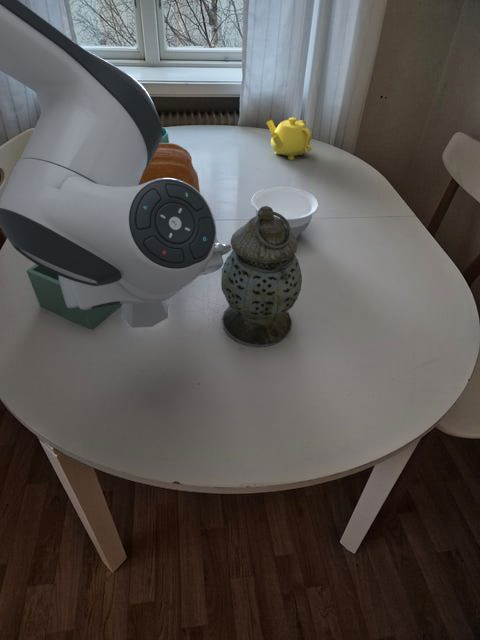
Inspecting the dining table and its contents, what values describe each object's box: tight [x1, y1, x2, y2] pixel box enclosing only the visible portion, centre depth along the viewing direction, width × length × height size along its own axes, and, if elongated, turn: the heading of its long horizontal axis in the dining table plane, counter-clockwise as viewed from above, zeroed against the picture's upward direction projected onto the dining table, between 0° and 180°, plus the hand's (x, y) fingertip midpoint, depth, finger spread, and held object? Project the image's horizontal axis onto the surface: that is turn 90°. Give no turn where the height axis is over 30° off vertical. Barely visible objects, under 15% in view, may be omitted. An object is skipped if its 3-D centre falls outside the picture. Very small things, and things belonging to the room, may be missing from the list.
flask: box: [120, 300, 169, 329], centre depth 61 cm, size 7×7×10 cm
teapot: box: [266, 117, 313, 160], centre depth 140 cm, size 14×14×11 cm
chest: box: [25, 264, 123, 331], centre depth 85 cm, size 17×14×9 cm
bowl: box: [250, 185, 319, 240], centre depth 104 cm, size 16×16×8 cm
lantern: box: [220, 206, 303, 348], centre depth 75 cm, size 14×14×25 cm
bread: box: [139, 142, 201, 194], centre depth 106 cm, size 18×22×17 cm
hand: (139, 281), depth 61 cm, fingers closed on flask, 3 cm apart
